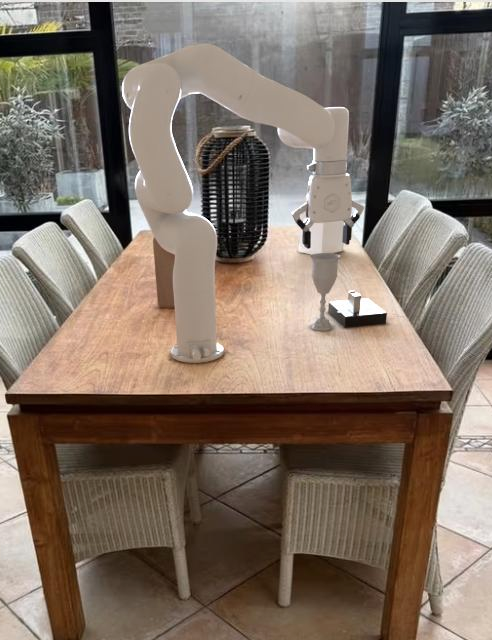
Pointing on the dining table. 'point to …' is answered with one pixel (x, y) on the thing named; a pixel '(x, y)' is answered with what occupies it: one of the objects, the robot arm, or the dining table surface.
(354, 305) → the box with red tab
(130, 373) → the dining table surface
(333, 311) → the black knob base
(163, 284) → the block
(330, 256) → the chalice
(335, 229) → the milk
